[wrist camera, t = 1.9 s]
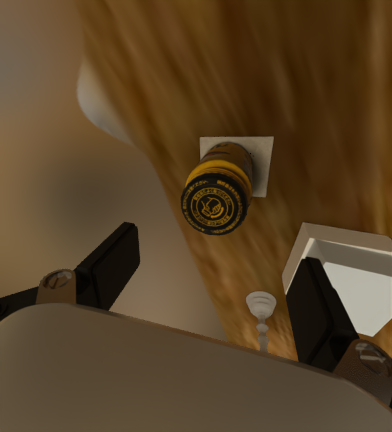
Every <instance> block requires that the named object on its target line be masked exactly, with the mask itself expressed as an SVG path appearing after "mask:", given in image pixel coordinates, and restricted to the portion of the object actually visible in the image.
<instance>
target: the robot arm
mask: <svg viewBox="0 0 392 432" xmlns="http://www.w3.org/2000/svg"><path fill="white" fill-rule="evenodd" d="M139 264H140V254H139V241H138V229H137V227H136V226H135V224H134V223H129V222H124V223H122V224H121V225H120V226H119V227H118V228H117V229H116V230H115V231H114V232H113V233H112V234H111V235H110V236H109V237H108V238H107V239H105V240H104V241H103V242H102V243H101V244H100V245H99V246H98V247H97V248H96V249H95V250H94V251H93V252H92V253H91V254H90V255H89V256H87V257H86V258H85V259H84V260H83V261H82V262H81V263H80V264H79V265H78V266H77V267H76V268H75V269H74V270H70V269H59V270H55V271H53V272H51V273H49V274H47V275H46V276H44V277H43V279H42V280H41V281H40V283H39V286H38V287H35V288H31V289H28V290H25V291H21V292H18V293H15V294H12V295H8V296H5V297H2V298H0V432H392V358H391V357H390V356H389V355H388V354H387V353H386V352H385V351H384V350H382V349H381V348H380V347H378V346H377V345H375V344H374V343H372V342H369V341H367V340H363V339H360V338H359V336H358V334H357V332H356V330H355V328H354V326H353V324H352V322H351V320H350V317H349V315H348V313H347V311H346V309H345V307H344V305H343V303H342V301H341V299H340V297H339V295H338V293H337V291H336V289H335V288H333V286H332V284H331V282H330V280H329V278H328V276H327V274H326V272H325V270H324V268H323V265H322V263H321V261H320V260H319V259H318V258H313V257H308V256H307V257H305V259H303V258H302V259H301V261H300V263H299V265H298V268H297V270H296V272H295V275H294V277H293V279H292V282H291V284H290V286H289V289H288V291H287V294H286V301H287V306H288V311H289V316H290V321H291V326H292V331H293V336H294V341H295V345H296V350H297V355H298V360H299V362H297V361H293V360H290V359H287V358H283V357H280V356H276V355H273V354H269V353H265V352H262V351H258V350H254V349H251V348H247V347H243V346H240V345H236V344H232V343H229V342H225V341H221V340H217V339H214V338H210V337H206V336H203V335H199V334H195V333H191V332H188V331H184V330H180V329H176V328H172V327H169V326H165V325H161V324H157V323H153V322H150V321H145V320H142V319H138V318H134V317H130V316H126V315H123V314H119V313H114V312H111V311H109V309H110V308H111V306H112V305H113V303H114V302H115V300H116V299H117V297H118V296H119V294H120V293H121V292H122V290H123V289H124V287H125V285H126V284H127V283H128V281H129V280H130V278H131V277H132V275H133V274H134V272H135V271H136V269H137V268H138V266H139Z"/></svg>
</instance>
